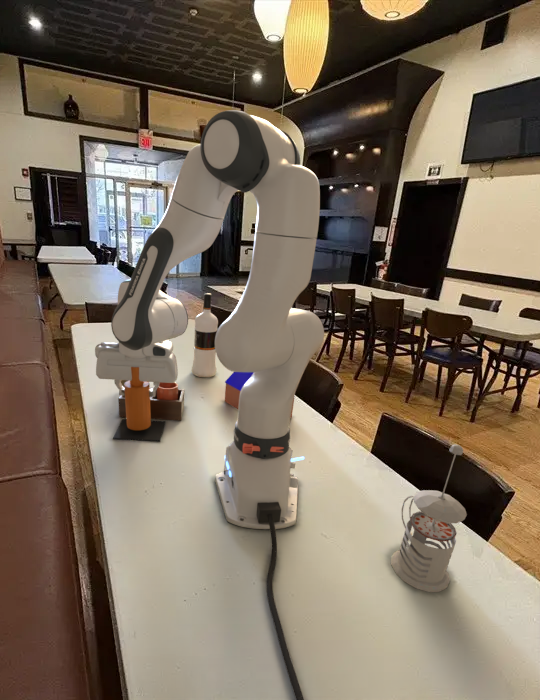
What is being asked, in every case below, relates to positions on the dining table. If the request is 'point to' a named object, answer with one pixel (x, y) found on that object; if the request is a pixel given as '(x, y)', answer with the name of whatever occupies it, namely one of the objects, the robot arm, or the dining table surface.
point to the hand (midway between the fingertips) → (137, 395)
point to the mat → (140, 432)
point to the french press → (430, 522)
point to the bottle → (137, 402)
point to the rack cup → (167, 391)
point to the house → (237, 388)
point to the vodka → (205, 341)
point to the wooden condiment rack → (160, 407)
